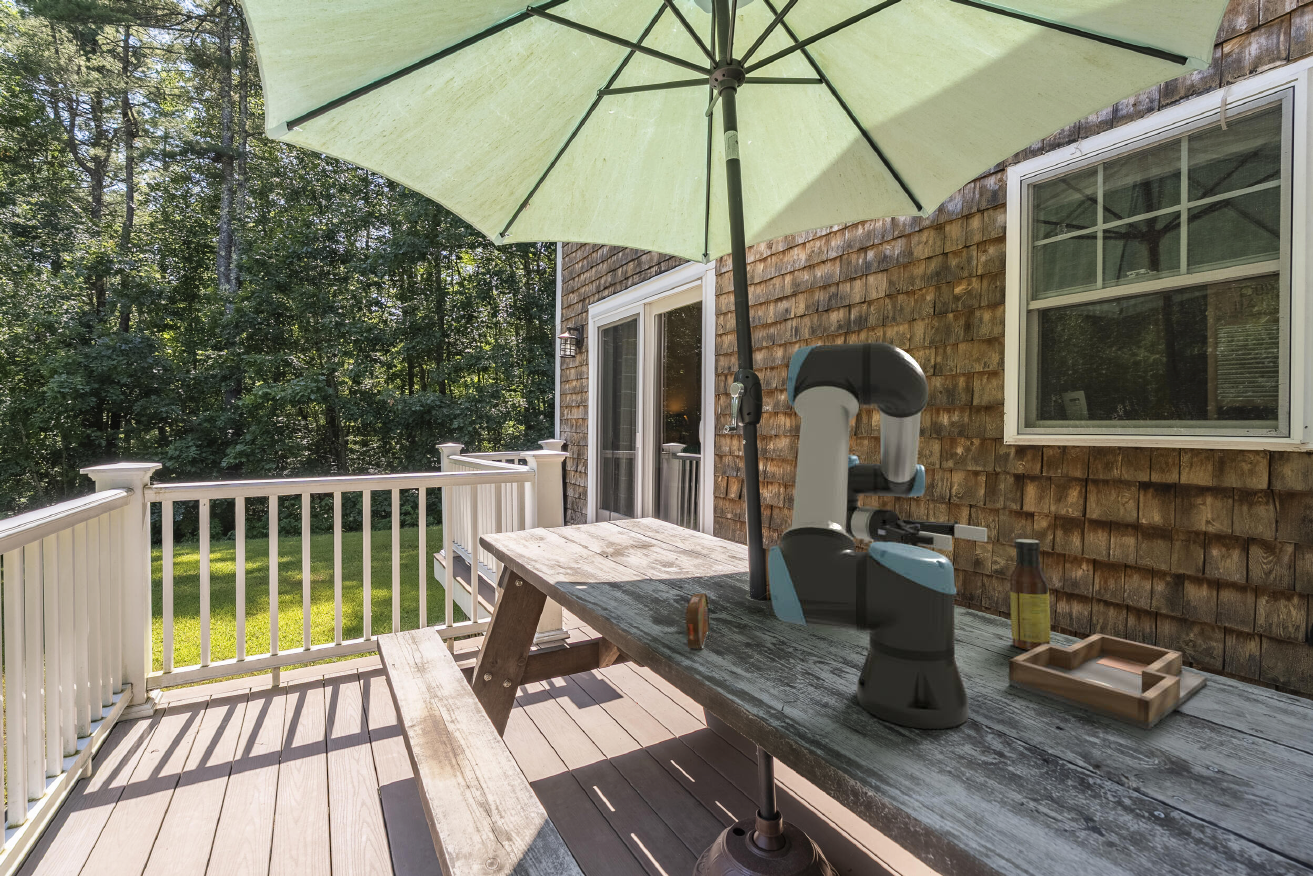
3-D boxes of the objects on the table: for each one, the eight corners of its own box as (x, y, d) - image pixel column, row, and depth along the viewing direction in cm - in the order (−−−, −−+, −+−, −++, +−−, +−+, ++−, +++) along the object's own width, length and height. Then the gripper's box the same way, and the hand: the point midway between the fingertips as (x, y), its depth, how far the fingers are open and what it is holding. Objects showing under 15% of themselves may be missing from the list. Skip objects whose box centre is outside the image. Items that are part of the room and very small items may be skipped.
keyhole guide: (1148, 730, 82) (1148, 700, 82) (1008, 685, 97) (1009, 660, 97) (1206, 683, 97) (1206, 658, 97) (1077, 650, 112) (1077, 628, 112)
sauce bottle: (1058, 650, 112) (1058, 542, 112) (1034, 655, 110) (1034, 545, 110) (1025, 639, 118) (1025, 536, 118) (1002, 643, 116) (1002, 539, 116)
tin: (700, 656, 111) (700, 609, 111) (683, 655, 111) (683, 609, 111) (710, 629, 125) (710, 588, 125) (695, 628, 126) (695, 588, 126)
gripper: (908, 535, 147) (999, 549, 130) (842, 548, 133) (934, 566, 116) (908, 504, 147) (999, 514, 130) (841, 514, 133) (934, 527, 116)
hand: (969, 539), depth 123 cm, fingers open, 13 cm apart
